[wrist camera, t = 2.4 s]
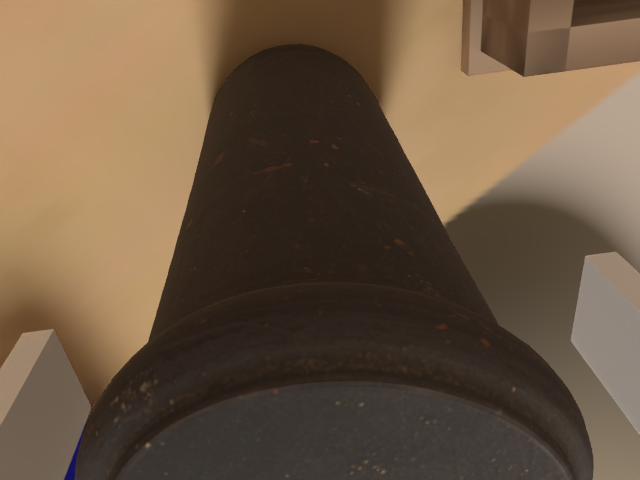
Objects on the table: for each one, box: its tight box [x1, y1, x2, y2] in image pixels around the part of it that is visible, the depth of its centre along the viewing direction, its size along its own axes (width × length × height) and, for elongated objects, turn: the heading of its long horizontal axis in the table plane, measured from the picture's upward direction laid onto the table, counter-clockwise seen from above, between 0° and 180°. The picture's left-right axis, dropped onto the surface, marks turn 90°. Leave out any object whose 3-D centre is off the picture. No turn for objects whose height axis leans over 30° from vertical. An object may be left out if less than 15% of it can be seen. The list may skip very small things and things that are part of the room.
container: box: [75, 45, 593, 480], centre depth 17 cm, size 9×9×20 cm
